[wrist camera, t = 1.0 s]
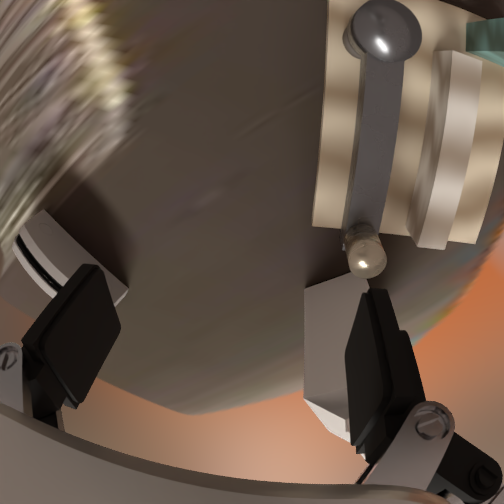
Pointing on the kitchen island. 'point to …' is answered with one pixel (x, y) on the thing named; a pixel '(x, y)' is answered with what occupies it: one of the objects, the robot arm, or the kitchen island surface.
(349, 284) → the milk carton
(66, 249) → the grey curved block
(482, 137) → the base
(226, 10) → the kitchen island surface
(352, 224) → the swing bar
